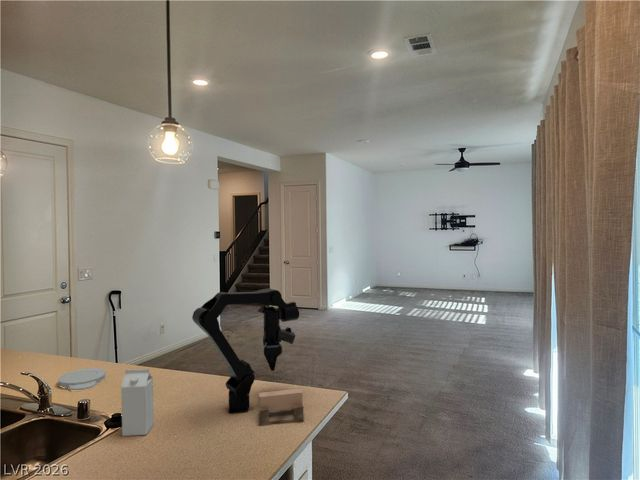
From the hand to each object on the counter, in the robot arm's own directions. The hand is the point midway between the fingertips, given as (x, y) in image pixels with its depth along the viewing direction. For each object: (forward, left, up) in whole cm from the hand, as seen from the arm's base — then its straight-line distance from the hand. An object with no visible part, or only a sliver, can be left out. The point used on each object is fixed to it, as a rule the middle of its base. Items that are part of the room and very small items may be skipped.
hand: (272, 366), depth 150 cm
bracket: (+2, -15, -12) cm, 19 cm away
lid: (-76, +31, -12) cm, 83 cm away
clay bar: (+2, -15, -9) cm, 17 cm away
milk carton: (-42, -16, -12) cm, 47 cm away
